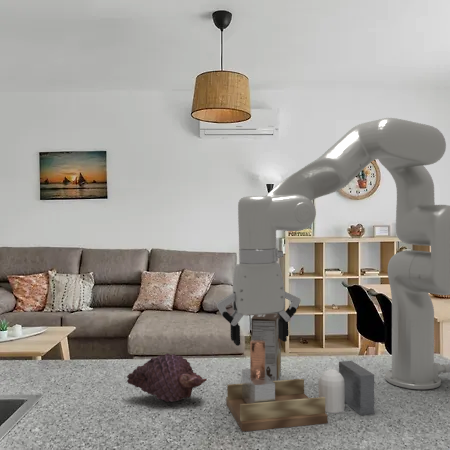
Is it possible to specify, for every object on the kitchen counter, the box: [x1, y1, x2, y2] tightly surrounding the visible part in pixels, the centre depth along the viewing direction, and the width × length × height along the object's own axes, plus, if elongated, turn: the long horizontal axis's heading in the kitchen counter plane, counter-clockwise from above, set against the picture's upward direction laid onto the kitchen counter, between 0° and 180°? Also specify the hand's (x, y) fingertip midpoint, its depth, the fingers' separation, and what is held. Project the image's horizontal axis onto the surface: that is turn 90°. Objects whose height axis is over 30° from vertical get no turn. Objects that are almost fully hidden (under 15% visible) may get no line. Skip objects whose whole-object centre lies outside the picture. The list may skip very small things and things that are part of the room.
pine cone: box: [126, 353, 208, 403], centre depth 108 cm, size 18×10×10 cm, turn 85°
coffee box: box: [250, 313, 282, 381], centre depth 121 cm, size 9×6×16 cm
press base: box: [225, 378, 329, 433], centre depth 101 cm, size 17×14×4 cm
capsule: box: [318, 368, 346, 414], centre depth 104 cm, size 5×5×8 cm
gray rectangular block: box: [338, 360, 375, 416], centre depth 105 cm, size 3×10×8 cm, turn 12°
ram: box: [241, 340, 275, 404], centre depth 100 cm, size 4×10×13 cm, turn 12°
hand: (259, 341), depth 100 cm, fingers open, 9 cm apart
